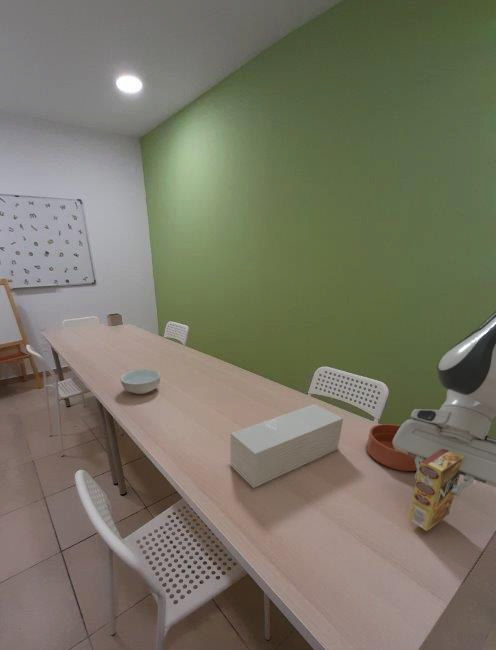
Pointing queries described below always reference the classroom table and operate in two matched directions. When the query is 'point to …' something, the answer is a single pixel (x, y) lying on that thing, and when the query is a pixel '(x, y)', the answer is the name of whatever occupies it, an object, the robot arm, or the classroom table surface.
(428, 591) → the classroom table surface
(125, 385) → the cereal bowl
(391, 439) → the pot
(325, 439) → the pale grey rectangular box
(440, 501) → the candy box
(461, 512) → the classroom table surface
